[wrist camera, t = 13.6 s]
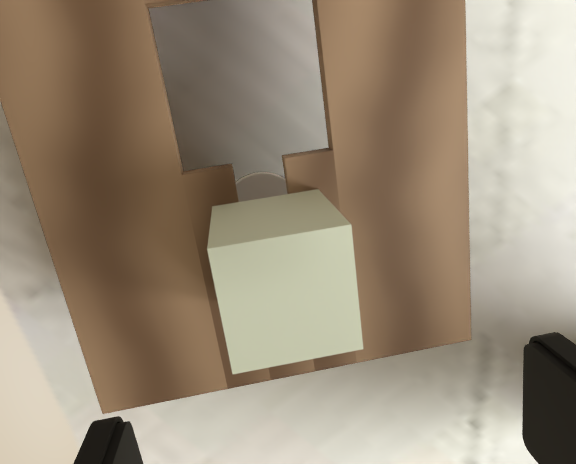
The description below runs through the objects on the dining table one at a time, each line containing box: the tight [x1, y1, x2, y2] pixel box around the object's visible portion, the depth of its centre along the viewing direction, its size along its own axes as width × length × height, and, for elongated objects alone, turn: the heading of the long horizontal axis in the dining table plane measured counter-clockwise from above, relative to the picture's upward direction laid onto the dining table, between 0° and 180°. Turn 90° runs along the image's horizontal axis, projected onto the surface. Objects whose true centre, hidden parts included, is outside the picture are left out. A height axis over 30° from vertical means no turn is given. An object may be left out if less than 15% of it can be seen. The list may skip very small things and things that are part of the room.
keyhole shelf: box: [0, 0, 471, 414], centre depth 26 cm, size 20×22×10 cm
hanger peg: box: [207, 172, 363, 374], centre depth 22 cm, size 5×5×13 cm
